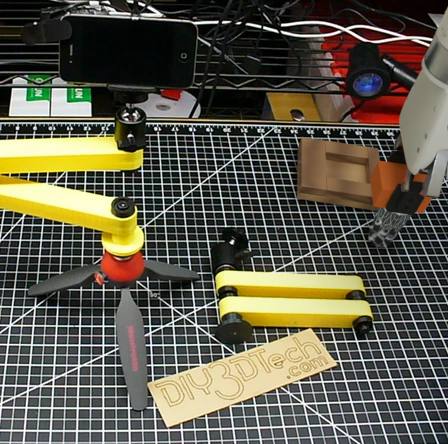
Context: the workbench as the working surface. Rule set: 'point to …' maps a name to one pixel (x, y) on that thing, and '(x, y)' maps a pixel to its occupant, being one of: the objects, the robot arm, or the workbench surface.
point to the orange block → (391, 183)
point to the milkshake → (386, 227)
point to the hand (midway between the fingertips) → (397, 193)
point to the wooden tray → (336, 173)
